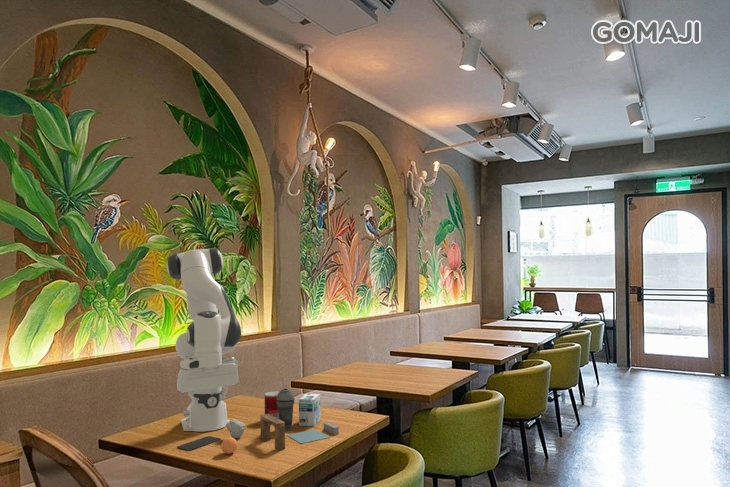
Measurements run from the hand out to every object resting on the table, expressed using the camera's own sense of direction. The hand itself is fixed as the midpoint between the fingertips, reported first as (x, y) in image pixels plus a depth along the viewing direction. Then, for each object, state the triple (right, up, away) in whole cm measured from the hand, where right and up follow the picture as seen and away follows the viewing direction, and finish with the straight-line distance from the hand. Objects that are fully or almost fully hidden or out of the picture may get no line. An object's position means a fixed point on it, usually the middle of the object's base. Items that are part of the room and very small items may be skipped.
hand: (208, 402), depth 177 cm
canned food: (+14, -21, +45) cm, 52 cm away
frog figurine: (+4, -20, +21) cm, 30 cm away
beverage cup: (+21, -20, +32) cm, 43 cm away
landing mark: (+31, -20, +22) cm, 42 cm away
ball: (+6, -16, +5) cm, 18 cm away
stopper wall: (+39, -20, +27) cm, 52 cm away
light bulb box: (+30, -21, +40) cm, 54 cm away
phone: (-8, -21, +16) cm, 27 cm away
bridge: (+19, -19, +13) cm, 30 cm away
